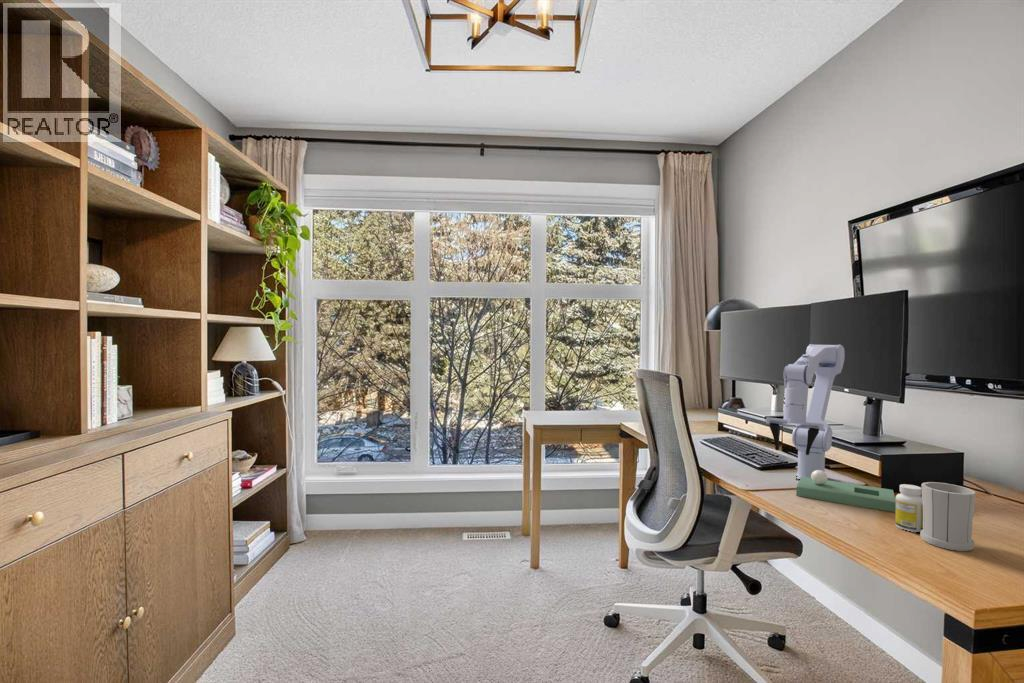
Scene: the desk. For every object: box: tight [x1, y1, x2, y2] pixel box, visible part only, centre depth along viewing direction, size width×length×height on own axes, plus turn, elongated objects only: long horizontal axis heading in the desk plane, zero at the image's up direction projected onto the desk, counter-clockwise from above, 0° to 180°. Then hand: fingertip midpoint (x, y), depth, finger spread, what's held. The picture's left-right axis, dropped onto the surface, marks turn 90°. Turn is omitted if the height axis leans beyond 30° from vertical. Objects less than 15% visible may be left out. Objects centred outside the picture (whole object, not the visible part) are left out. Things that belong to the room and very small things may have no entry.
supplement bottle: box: [895, 483, 923, 533], centre depth 117 cm, size 5×5×10 cm
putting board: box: [795, 476, 896, 513], centre depth 139 cm, size 13×22×2 cm, turn 56°
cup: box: [919, 481, 977, 552], centre depth 109 cm, size 10×9×12 cm
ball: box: [811, 470, 829, 485], centre depth 143 cm, size 4×4×4 cm
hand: (792, 452), depth 146 cm, fingers open, 7 cm apart
